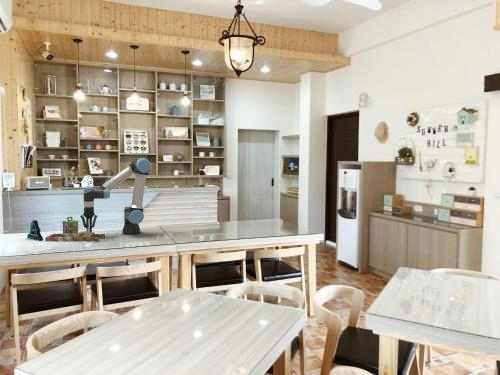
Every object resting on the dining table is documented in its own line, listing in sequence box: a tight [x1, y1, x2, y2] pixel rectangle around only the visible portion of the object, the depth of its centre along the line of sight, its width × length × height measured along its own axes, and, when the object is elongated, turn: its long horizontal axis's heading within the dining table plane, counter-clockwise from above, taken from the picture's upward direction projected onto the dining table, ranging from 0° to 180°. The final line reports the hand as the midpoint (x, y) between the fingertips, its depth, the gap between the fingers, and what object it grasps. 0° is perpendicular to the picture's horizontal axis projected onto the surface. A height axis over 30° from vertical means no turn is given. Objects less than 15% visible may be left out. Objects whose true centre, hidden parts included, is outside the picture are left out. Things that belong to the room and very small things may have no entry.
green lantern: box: [62, 216, 79, 234], centre depth 347 cm, size 9×9×15 cm
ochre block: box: [78, 230, 88, 237], centre depth 329 cm, size 7×7×6 cm
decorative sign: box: [26, 219, 44, 242], centre depth 327 cm, size 19×2×15 cm, turn 56°
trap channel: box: [45, 231, 106, 243], centre depth 332 cm, size 40×22×3 cm, turn 92°
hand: (89, 236), depth 329 cm, fingers closed
